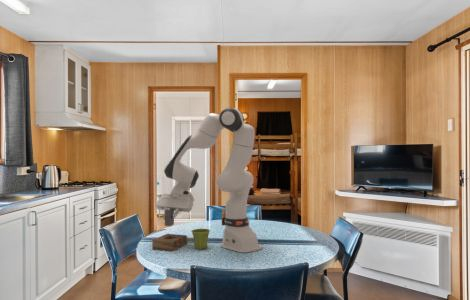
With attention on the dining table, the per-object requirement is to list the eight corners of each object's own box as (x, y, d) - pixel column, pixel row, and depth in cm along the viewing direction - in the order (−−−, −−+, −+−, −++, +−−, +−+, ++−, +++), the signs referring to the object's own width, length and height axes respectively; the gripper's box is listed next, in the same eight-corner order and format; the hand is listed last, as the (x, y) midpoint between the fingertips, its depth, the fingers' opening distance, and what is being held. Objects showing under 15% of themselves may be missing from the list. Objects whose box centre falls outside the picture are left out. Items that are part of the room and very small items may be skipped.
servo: (170, 223, 171) (170, 206, 172) (175, 224, 170) (175, 207, 171) (163, 226, 165) (163, 208, 166) (168, 226, 164) (168, 209, 165)
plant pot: (192, 250, 159) (192, 233, 160) (190, 245, 168) (190, 229, 169) (211, 249, 162) (211, 231, 162) (208, 244, 171) (208, 228, 171)
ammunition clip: (222, 225, 219) (222, 207, 219) (221, 224, 221) (221, 207, 221) (237, 224, 222) (237, 206, 223) (236, 223, 224) (236, 206, 224)
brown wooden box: (167, 242, 176) (167, 233, 176) (186, 244, 172) (186, 235, 172) (152, 249, 163) (152, 240, 163) (173, 251, 159) (173, 241, 159)
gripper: (159, 190, 178) (149, 211, 169) (193, 192, 171) (184, 214, 162) (164, 197, 182) (154, 218, 173) (196, 199, 175) (188, 221, 166)
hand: (168, 216), depth 167 cm, fingers closed on servo, 3 cm apart
